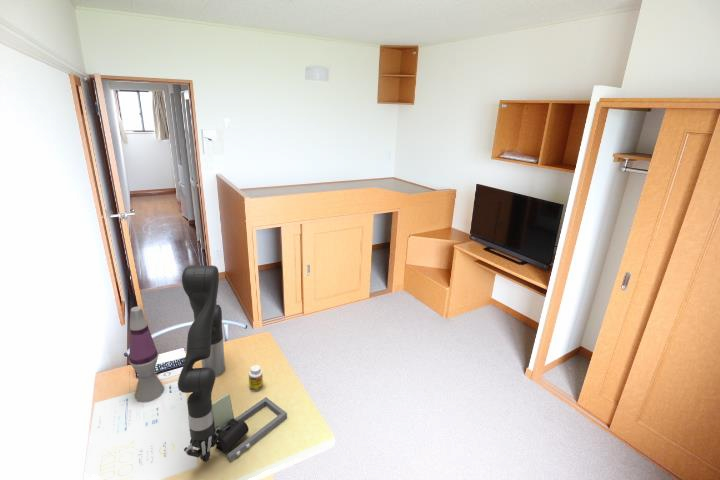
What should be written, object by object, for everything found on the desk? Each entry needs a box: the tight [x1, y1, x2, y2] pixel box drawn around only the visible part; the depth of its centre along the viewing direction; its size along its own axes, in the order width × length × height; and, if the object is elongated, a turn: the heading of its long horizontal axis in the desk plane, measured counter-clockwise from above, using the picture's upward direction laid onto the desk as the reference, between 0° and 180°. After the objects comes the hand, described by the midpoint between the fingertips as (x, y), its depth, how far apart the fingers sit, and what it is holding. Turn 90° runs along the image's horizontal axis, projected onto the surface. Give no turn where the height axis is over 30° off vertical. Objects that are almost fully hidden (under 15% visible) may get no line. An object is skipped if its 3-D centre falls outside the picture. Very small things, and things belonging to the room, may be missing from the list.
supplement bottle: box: [248, 364, 264, 392], centre depth 160 cm, size 6×6×10 cm
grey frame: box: [212, 396, 288, 463], centre depth 141 cm, size 13×26×2 cm, turn 142°
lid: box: [212, 392, 235, 429], centre depth 137 cm, size 12×10×1 cm
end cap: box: [215, 418, 249, 454], centre depth 135 cm, size 10×7×7 cm
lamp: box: [128, 305, 165, 403], centre depth 149 cm, size 11×11×40 cm
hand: (205, 459), depth 128 cm, fingers closed
